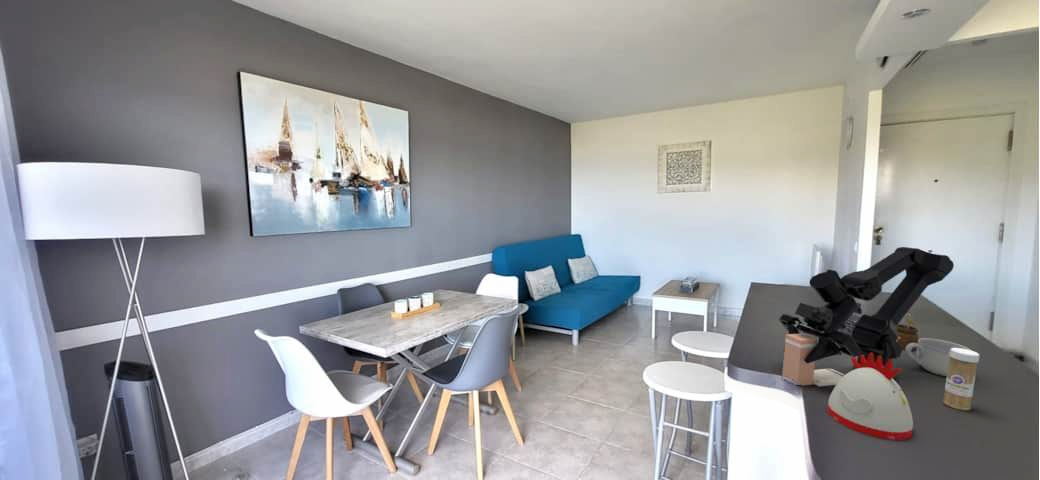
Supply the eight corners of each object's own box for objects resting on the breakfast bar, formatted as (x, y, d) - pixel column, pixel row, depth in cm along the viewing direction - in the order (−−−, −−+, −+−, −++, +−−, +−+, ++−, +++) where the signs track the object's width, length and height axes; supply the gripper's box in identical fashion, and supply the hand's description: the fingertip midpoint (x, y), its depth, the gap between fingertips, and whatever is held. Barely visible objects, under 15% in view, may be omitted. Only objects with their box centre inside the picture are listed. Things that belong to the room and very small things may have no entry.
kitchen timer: (888, 446, 78) (898, 372, 77) (813, 411, 91) (820, 347, 89) (925, 431, 84) (935, 361, 82) (850, 400, 96) (857, 339, 95)
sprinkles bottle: (942, 405, 94) (950, 350, 93) (942, 399, 97) (950, 345, 96) (971, 413, 91) (980, 356, 90) (971, 406, 94) (979, 351, 93)
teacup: (956, 368, 116) (960, 341, 115) (979, 384, 106) (983, 355, 105) (893, 359, 122) (896, 333, 121) (909, 373, 112) (913, 345, 111)
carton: (797, 376, 108) (801, 333, 107) (813, 384, 104) (817, 339, 103) (781, 378, 107) (785, 334, 106) (796, 386, 103) (801, 340, 102)
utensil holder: (913, 347, 132) (918, 311, 131) (919, 353, 127) (924, 316, 126) (889, 343, 136) (894, 308, 134) (894, 348, 130) (898, 312, 129)
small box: (874, 357, 123) (878, 323, 122) (849, 355, 124) (853, 322, 123) (853, 344, 133) (856, 314, 132) (830, 343, 135) (834, 312, 134)
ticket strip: (830, 371, 112) (831, 368, 112) (856, 382, 105) (856, 379, 105) (794, 374, 110) (795, 371, 110) (818, 386, 103) (819, 383, 103)
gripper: (787, 285, 113) (750, 325, 112) (855, 302, 95) (812, 351, 94) (807, 311, 116) (771, 351, 114) (877, 333, 97) (835, 380, 96)
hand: (795, 357), depth 105 cm, fingers open, 6 cm apart
